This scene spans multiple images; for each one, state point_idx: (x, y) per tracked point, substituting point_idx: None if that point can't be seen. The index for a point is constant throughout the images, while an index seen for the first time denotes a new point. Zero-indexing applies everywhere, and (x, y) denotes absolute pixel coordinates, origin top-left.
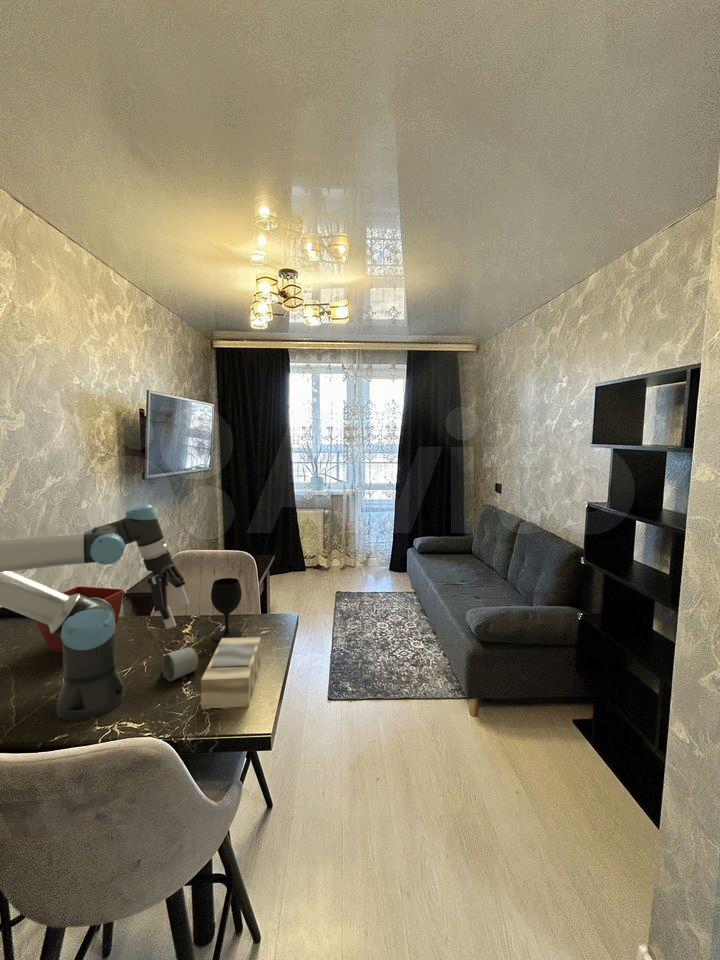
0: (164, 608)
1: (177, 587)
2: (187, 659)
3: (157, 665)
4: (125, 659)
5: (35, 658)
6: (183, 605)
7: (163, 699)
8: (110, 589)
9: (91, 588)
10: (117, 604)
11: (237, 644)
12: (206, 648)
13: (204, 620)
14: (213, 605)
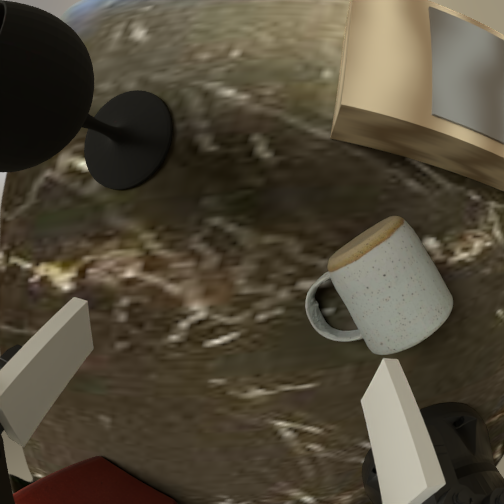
0: (493, 491)
1: (4, 424)
2: (427, 257)
3: (286, 357)
4: (218, 437)
5: None
6: (90, 331)
7: (485, 306)
8: None
9: None
10: (50, 497)
11: (414, 52)
12: (199, 199)
13: (19, 228)
14: (47, 158)
